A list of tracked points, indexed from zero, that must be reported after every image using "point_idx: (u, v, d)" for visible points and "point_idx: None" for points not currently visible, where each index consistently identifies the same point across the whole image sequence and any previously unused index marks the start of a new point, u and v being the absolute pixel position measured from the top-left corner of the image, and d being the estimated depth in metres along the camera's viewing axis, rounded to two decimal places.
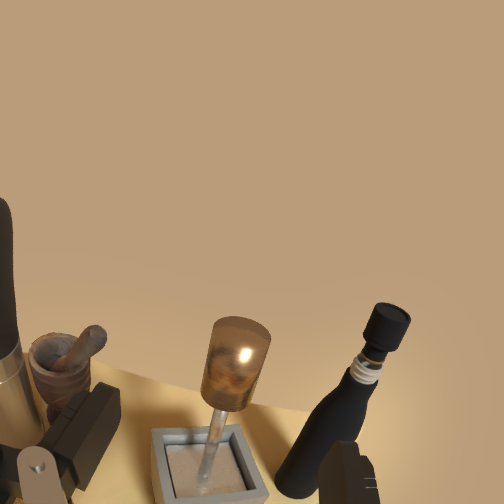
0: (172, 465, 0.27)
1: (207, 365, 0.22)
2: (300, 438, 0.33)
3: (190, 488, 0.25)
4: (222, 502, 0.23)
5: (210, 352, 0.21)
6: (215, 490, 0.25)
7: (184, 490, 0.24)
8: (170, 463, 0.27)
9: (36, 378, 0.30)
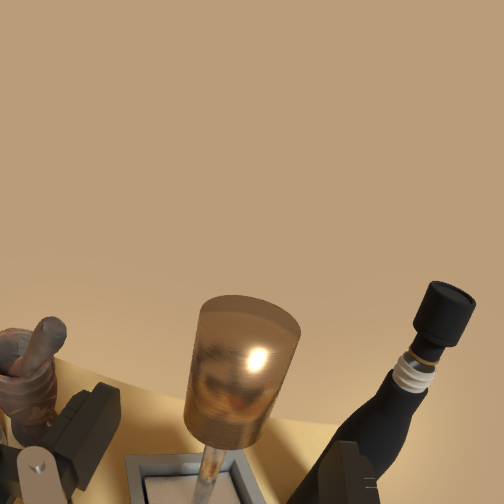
0: None
1: (191, 377, 0.12)
2: None
3: None
4: None
5: (196, 355, 0.12)
6: None
7: None
8: (150, 502, 0.18)
9: None
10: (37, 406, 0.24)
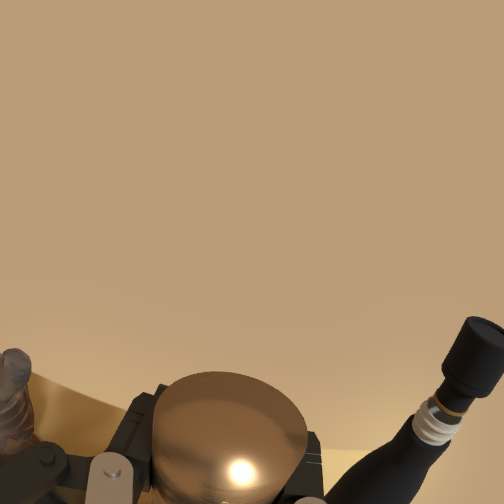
0: None
1: (153, 480, 0.07)
2: None
3: None
4: None
5: (154, 462, 0.07)
6: None
7: None
8: None
9: None
10: (11, 438, 0.19)
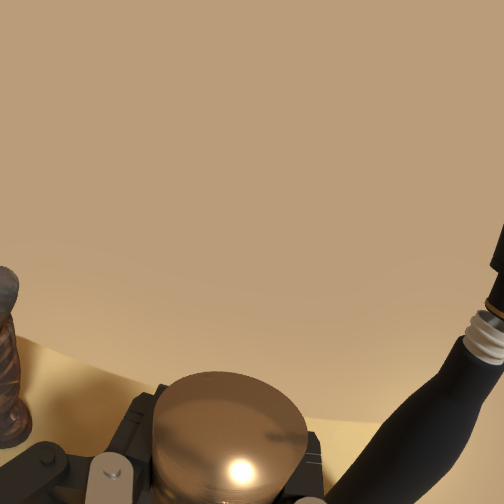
0: None
1: (153, 480, 0.07)
2: (360, 472, 0.17)
3: None
4: None
5: (154, 462, 0.07)
6: None
7: None
8: None
9: None
10: None
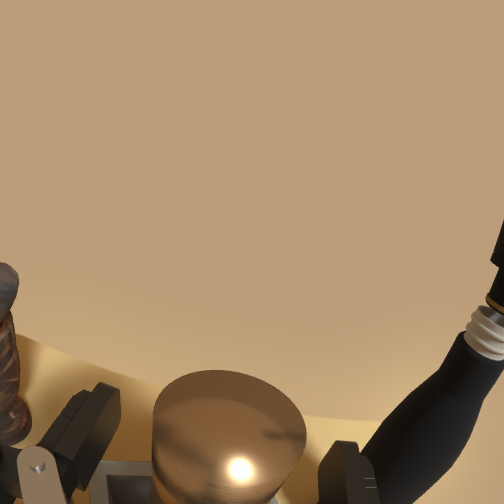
0: None
1: (153, 478, 0.08)
2: None
3: None
4: None
5: (153, 460, 0.07)
6: None
7: None
8: None
9: None
10: None
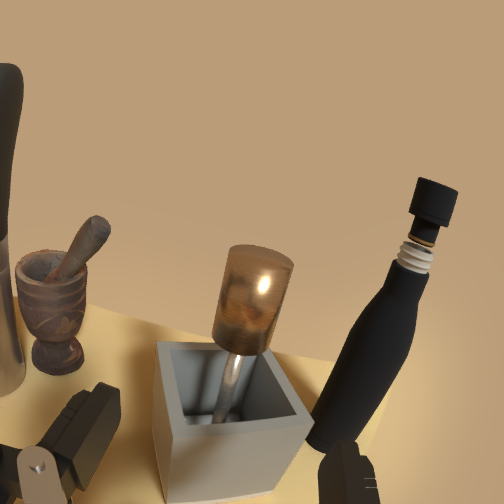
0: None
1: (221, 297, 0.20)
2: (339, 363, 0.29)
3: None
4: (253, 431, 0.19)
5: (225, 280, 0.19)
6: None
7: None
8: None
9: (21, 293, 0.26)
10: (66, 316, 0.29)
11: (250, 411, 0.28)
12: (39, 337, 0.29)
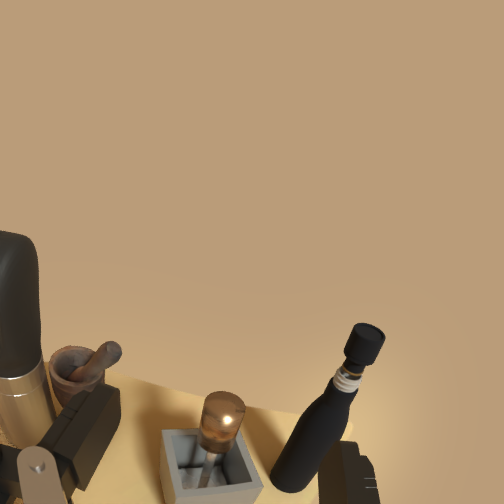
0: None
1: (201, 425, 0.28)
2: (291, 438, 0.38)
3: None
4: (223, 492, 0.28)
5: (203, 418, 0.28)
6: None
7: None
8: None
9: (56, 387, 0.35)
10: None
11: (227, 467, 0.37)
12: None
